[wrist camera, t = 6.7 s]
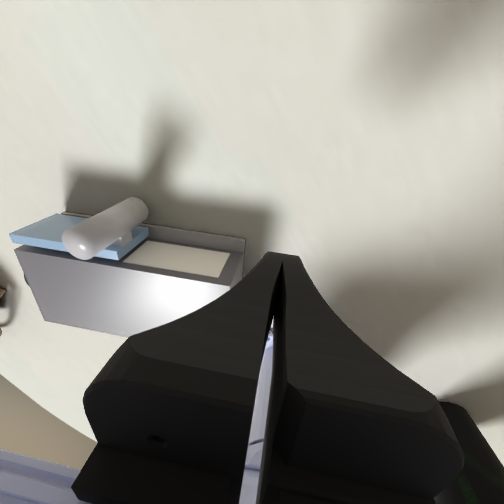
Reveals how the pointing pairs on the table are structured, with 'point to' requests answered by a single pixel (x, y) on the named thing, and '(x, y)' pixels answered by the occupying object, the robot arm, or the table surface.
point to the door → (90, 232)
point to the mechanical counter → (0, 293)
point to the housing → (133, 280)
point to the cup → (472, 464)
